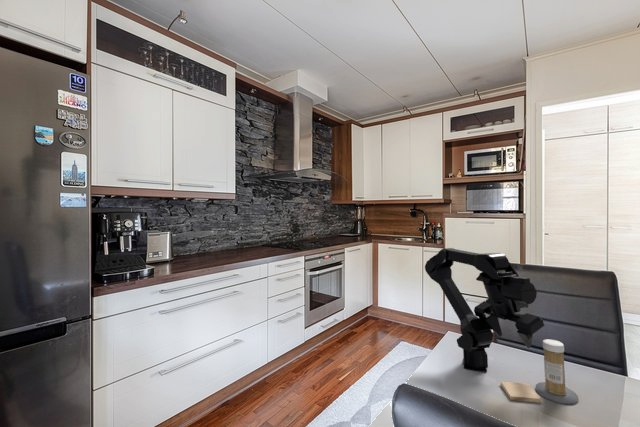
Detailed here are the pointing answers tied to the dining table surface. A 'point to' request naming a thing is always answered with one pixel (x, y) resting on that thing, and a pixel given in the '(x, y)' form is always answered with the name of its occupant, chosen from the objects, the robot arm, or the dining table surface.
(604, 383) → the dining table surface
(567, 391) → the coaster
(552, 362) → the sprinkles bottle
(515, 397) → the tan square cloth
